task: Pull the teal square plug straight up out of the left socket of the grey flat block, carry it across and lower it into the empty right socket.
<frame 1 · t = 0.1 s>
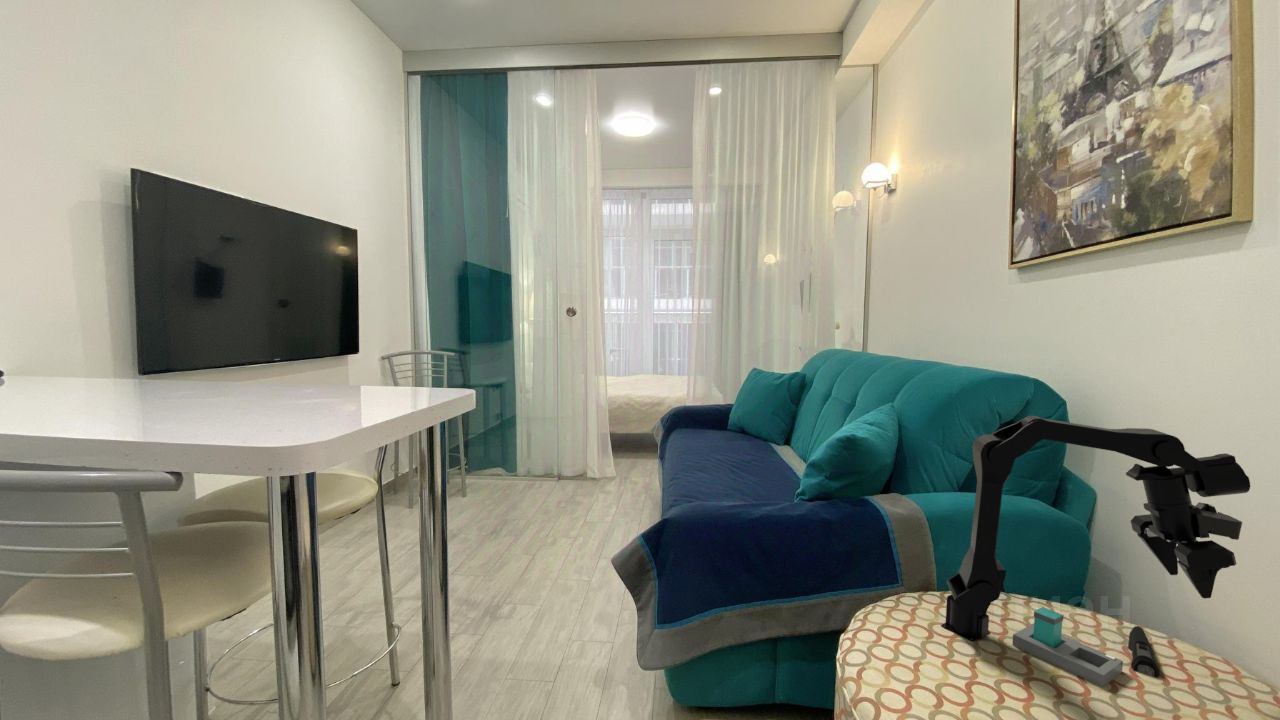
hand: (1189, 585, 98), 15 cm above the table, tool pointing down, fingers open, 9 cm apart
electric trimmer: (1139, 659, 102), on the table
plug: (1046, 649, 103), resting on grey flat block
grey flat block: (1065, 660, 101), on the table
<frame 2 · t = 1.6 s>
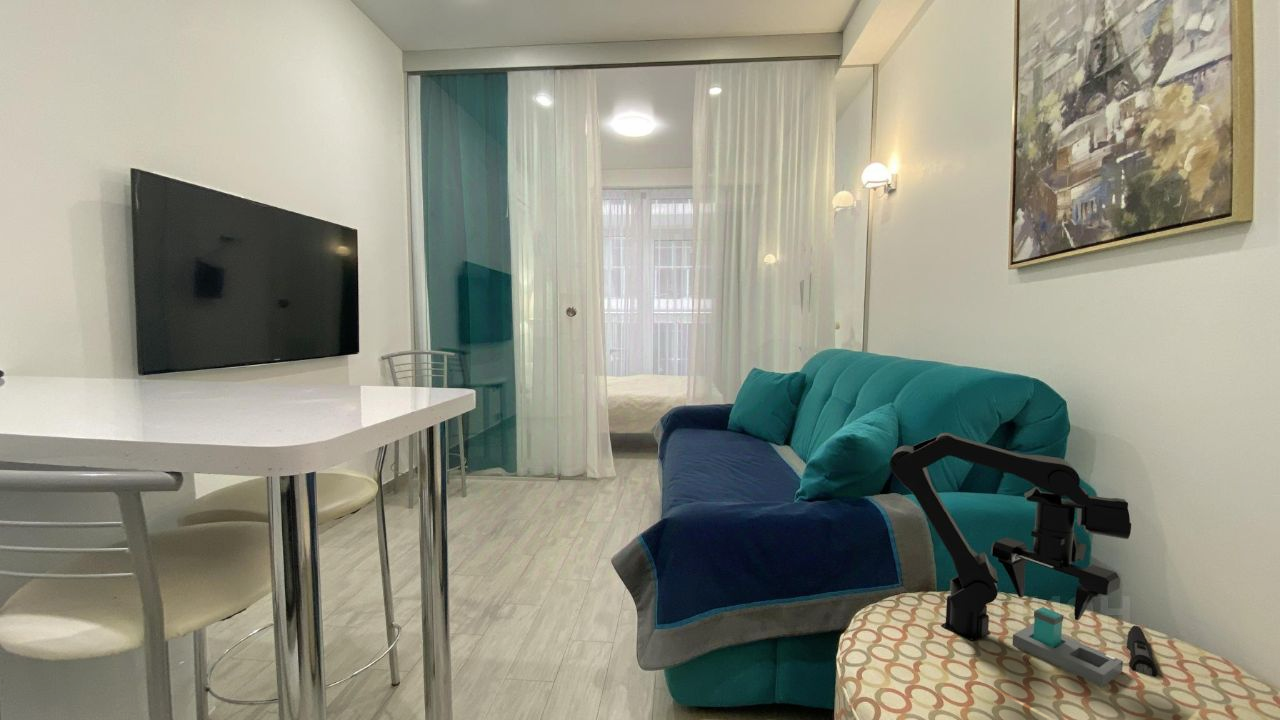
hand: (1048, 607, 103), 8 cm above the table, tool pointing down, fingers open, 9 cm apart
nothing on the table moved.
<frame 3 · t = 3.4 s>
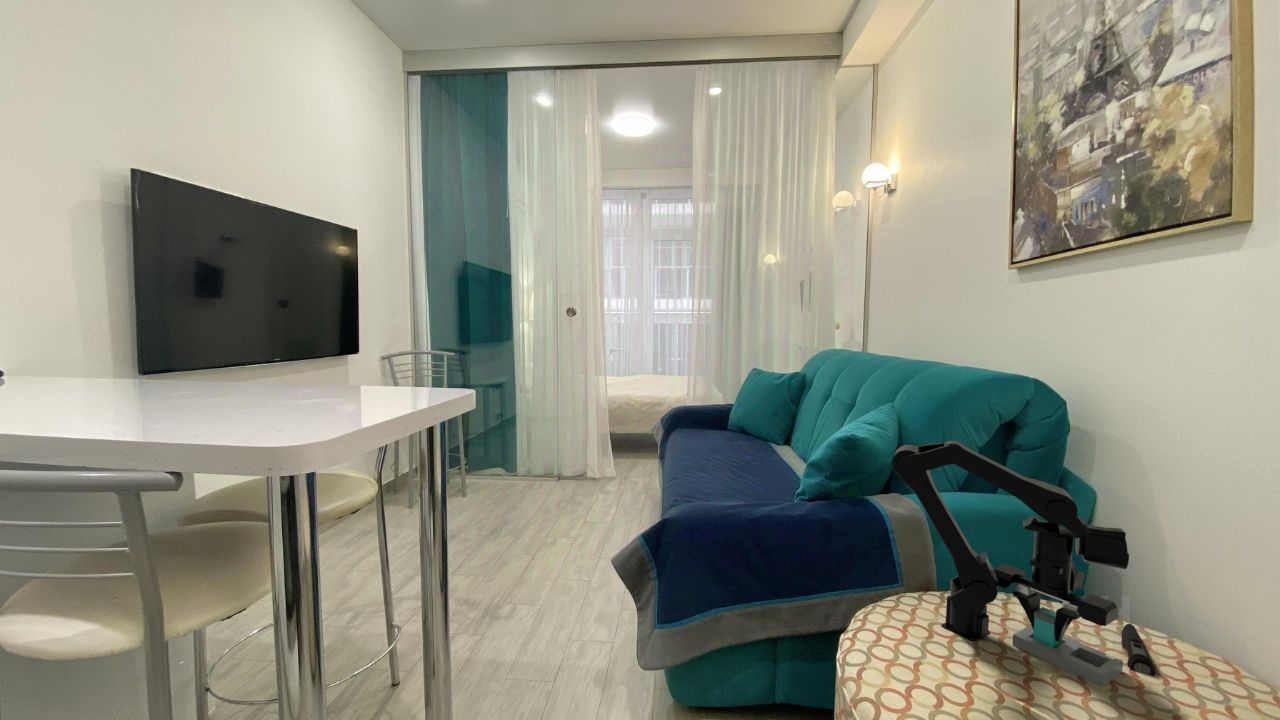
hand: (1047, 636, 103), 3 cm above the table, tool pointing down, fingers closed on plug, 3 cm apart
plug: (1046, 649, 103), resting on grey flat block, touching gripper
everything else where it was.
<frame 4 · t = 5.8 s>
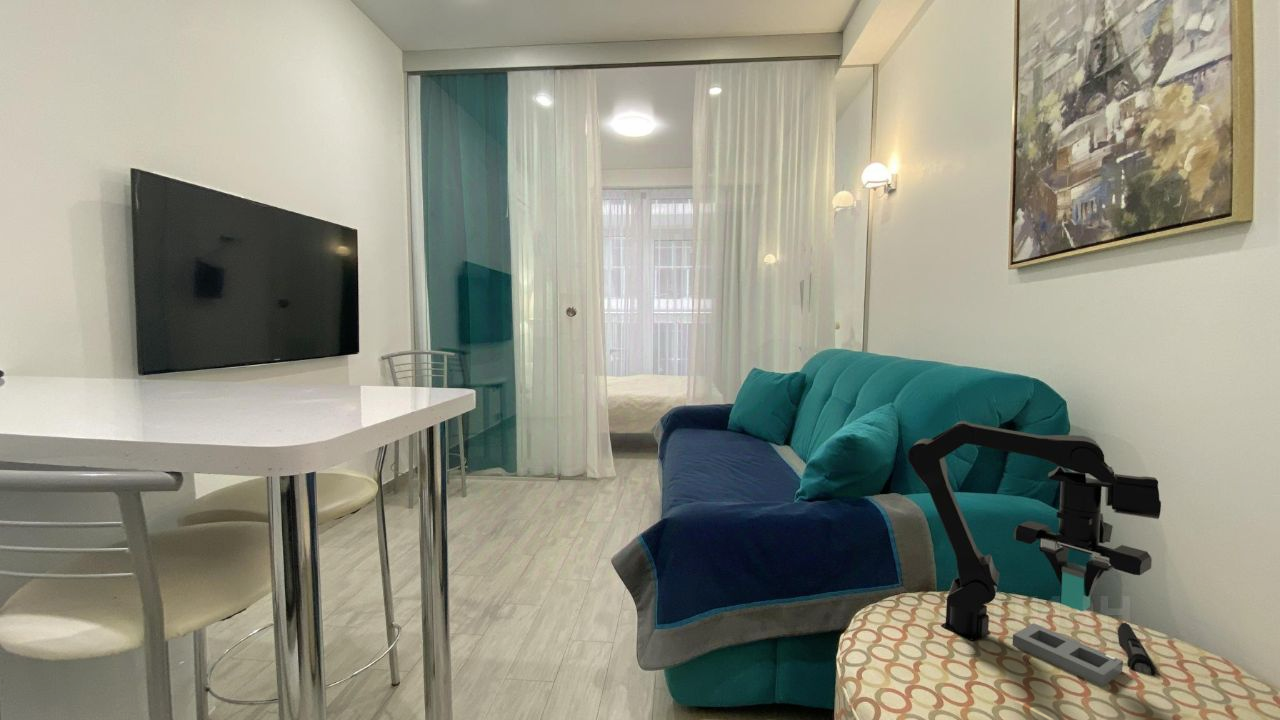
hand: (1076, 591, 99), 13 cm above the table, tool pointing down, fingers closed on plug, 3 cm apart
plug: (1075, 605, 99), point 11 cm above the table, touching gripper
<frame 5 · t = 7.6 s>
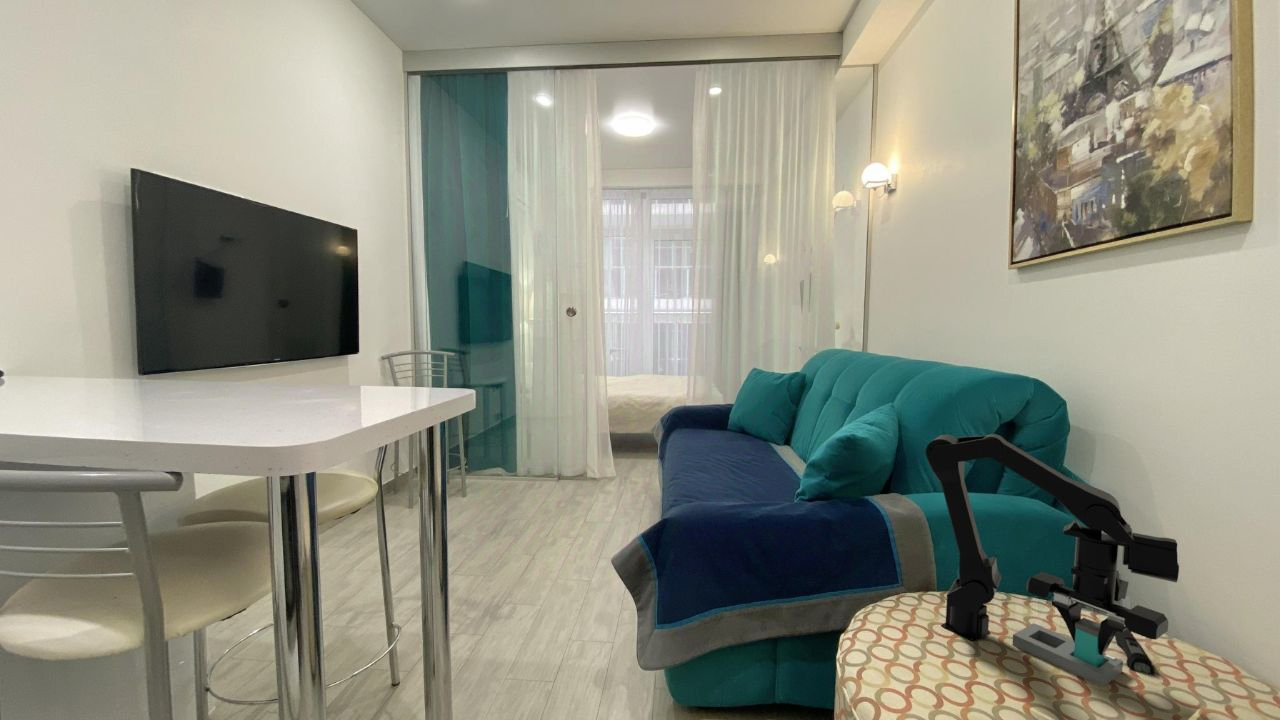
hand: (1089, 649, 98), 4 cm above the table, tool pointing down, fingers closed on plug, 3 cm apart
plug: (1088, 662, 98), point 1 cm above the table, touching gripper
when the fingers open (4 cm above the table, at t = 7.9 s): plug stays where it is, resting on grey flat block.
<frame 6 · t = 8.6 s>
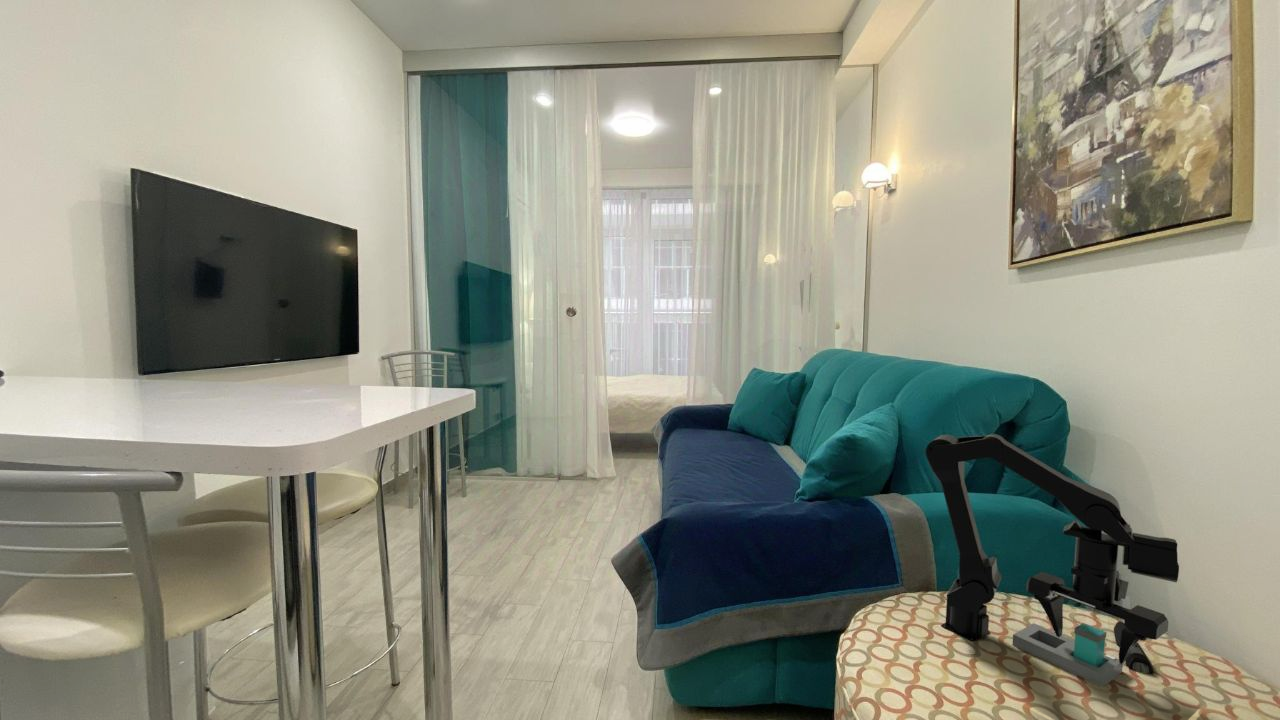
hand: (1089, 649, 98), 4 cm above the table, tool pointing down, fingers open, 9 cm apart
plug: (1087, 667, 98), resting on grey flat block
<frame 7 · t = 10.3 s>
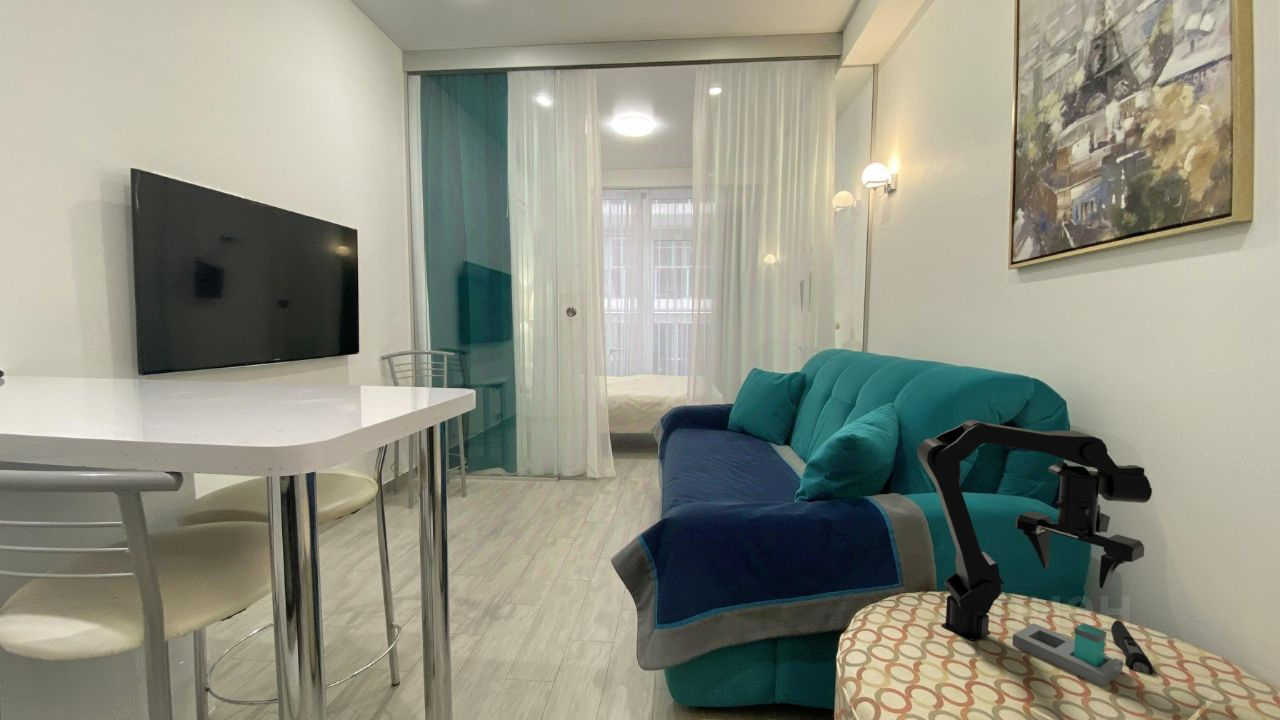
hand: (1073, 577, 105), 13 cm above the table, tool pointing down, fingers open, 9 cm apart
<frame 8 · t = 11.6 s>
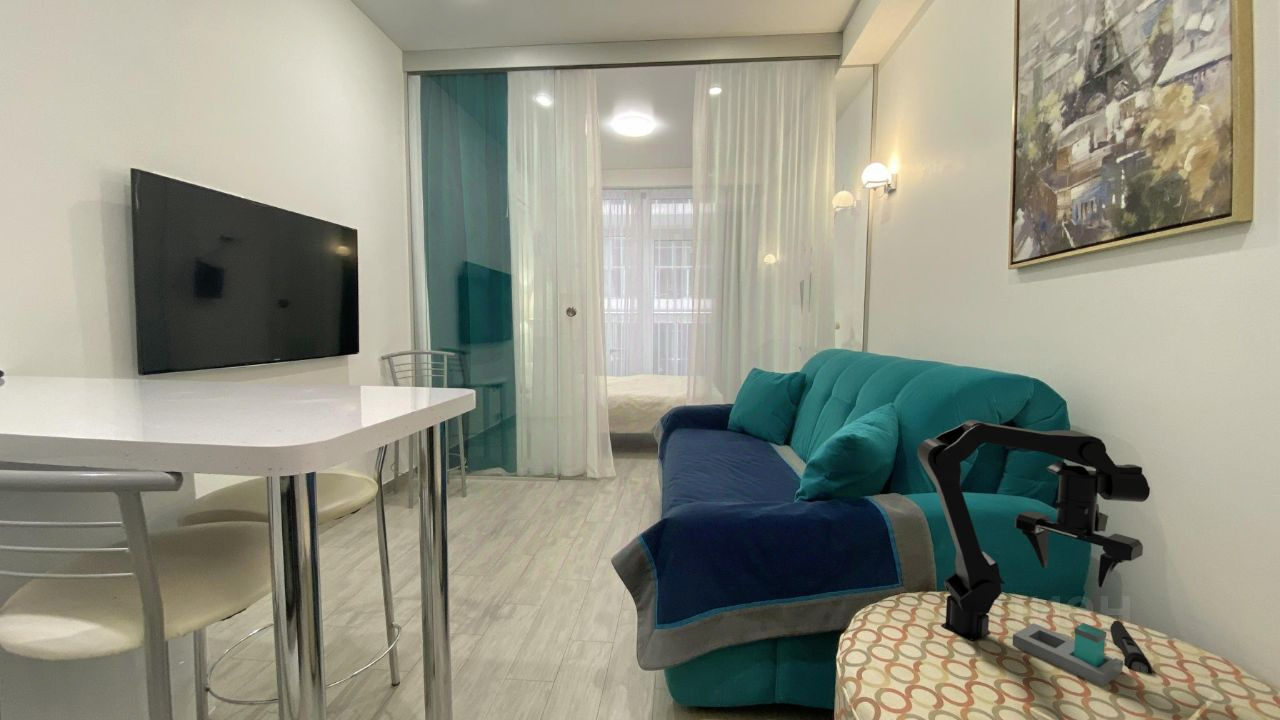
hand: (1071, 576, 106), 13 cm above the table, tool pointing down, fingers open, 9 cm apart
at the end: plug 0.0 cm from the target spot on the grey flat block, point 0.5 cm above the grey flat block's base; plug tilted 0°; the gripper is holding nothing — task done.
